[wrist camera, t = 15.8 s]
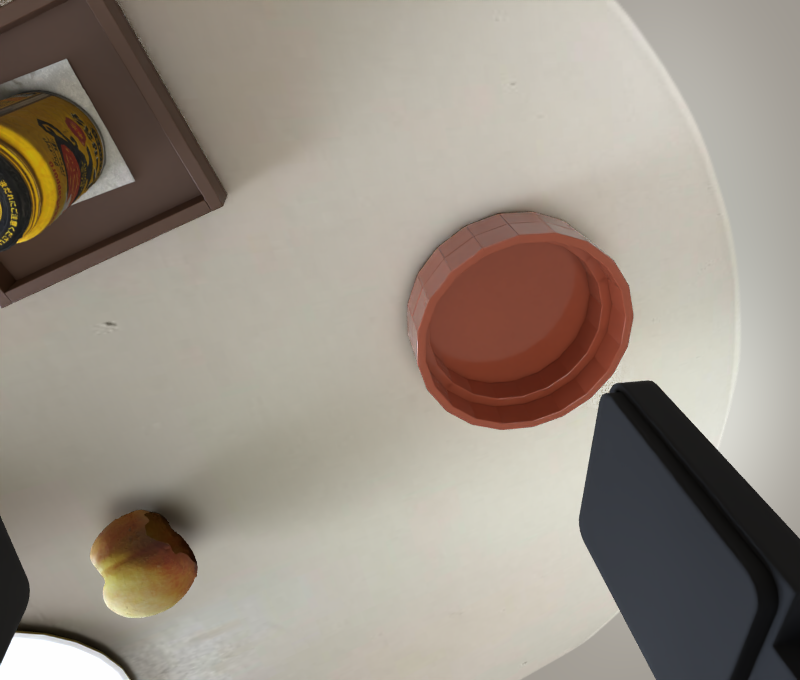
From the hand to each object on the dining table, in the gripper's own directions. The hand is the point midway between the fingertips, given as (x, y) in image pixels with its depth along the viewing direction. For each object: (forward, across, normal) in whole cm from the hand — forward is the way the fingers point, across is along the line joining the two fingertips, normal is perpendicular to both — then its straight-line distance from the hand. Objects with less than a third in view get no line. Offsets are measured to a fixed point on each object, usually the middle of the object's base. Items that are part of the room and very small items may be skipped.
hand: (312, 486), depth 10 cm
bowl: (+33, -14, +14) cm, 39 cm away
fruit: (+34, +15, +32) cm, 49 cm away
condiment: (+33, +16, +1) cm, 37 cm away
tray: (+33, +15, +1) cm, 37 cm away
